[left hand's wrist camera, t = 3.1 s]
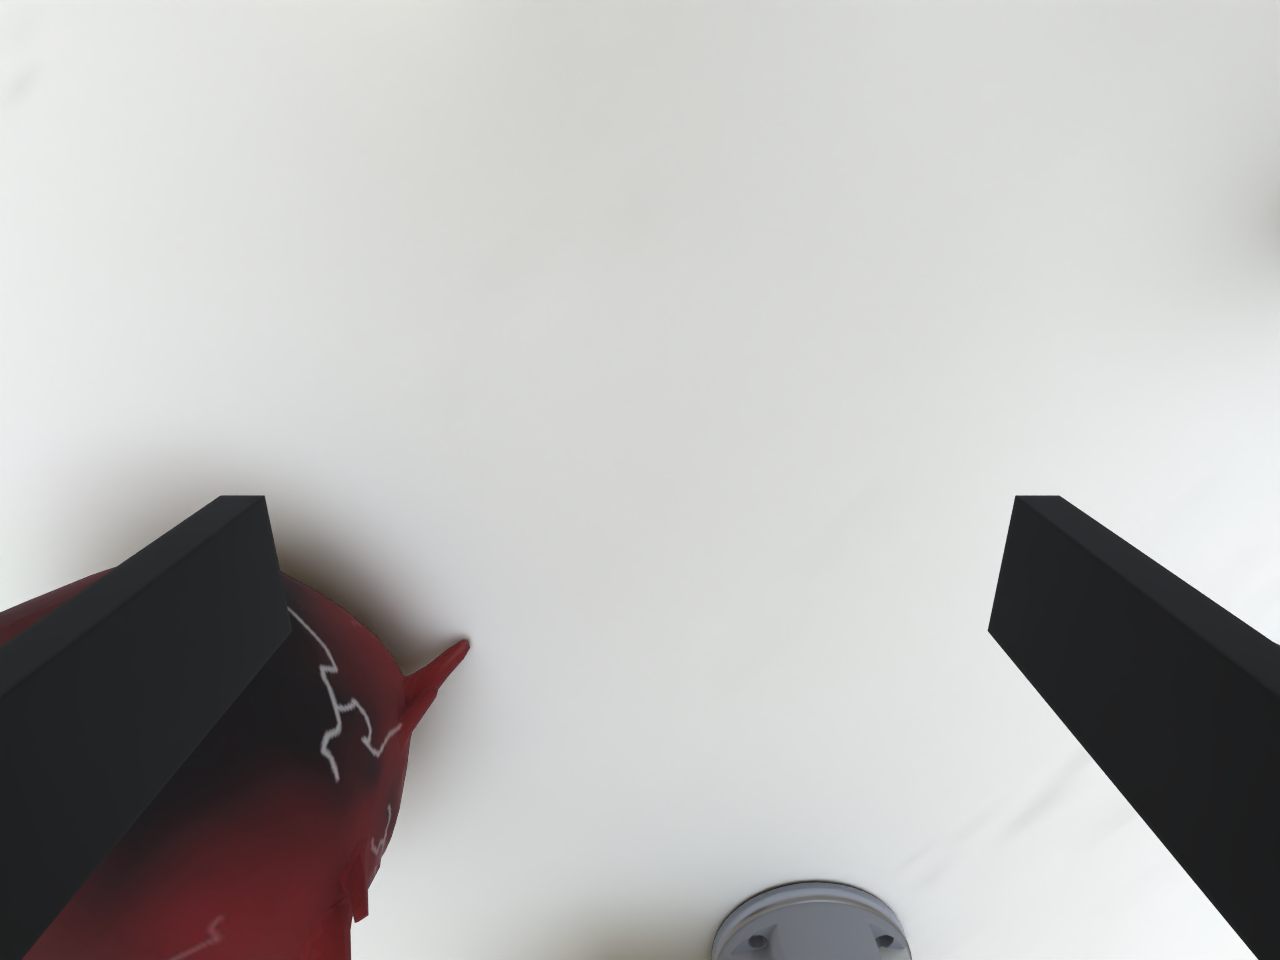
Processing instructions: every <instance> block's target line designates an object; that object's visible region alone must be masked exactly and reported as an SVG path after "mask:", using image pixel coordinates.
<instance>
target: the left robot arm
mask: <svg viewBox="0 0 1280 960" xmlns="http://www.w3.org/2000/svg"><path fill="white" fill-rule="evenodd" d="M291 632H292V627H291V622H290V617H289V613H288V608H287V603H286V598H285V593H284V588H283V583H282V578H281V574H280V569H279V564H278V559H277V554H276V549H275V544H274V539H273V535H272V530H271V525H270V520H269V515H268V510H267V505H266V500H265V496H219V497H218V498H216V499H215V500H214V501H212V502H211V503H209V504H208V505H206V506H205V507H203V508H202V509H200V510H199V511H197V512H196V513H195V514H193V515H192V516H190V517H189V518H187V519H186V520H184V521H183V522H181V523H180V524H178V525H177V526H176V527H174V528H173V529H171V530H170V531H168V532H167V533H165V534H164V535H162V536H161V537H160V538H158V539H157V540H155V541H154V542H152V543H151V544H149V545H148V546H146V547H145V548H143V549H142V550H141V551H139V552H138V553H136V554H135V555H133V556H132V557H130V558H129V559H127V560H126V561H124V562H123V563H122V564H120V565H119V566H117V567H116V568H114V569H113V570H111V571H110V572H108V573H107V574H106V575H104V576H103V577H101V578H100V579H98V580H97V581H95V582H94V583H92V584H91V585H89V586H88V587H87V588H85V589H84V590H82V591H81V592H79V593H78V594H76V595H75V596H73V597H72V598H70V599H69V600H68V601H66V602H65V603H63V604H62V605H60V606H59V607H57V608H56V609H54V610H53V611H51V612H50V613H49V614H47V615H46V616H44V617H43V618H41V619H40V620H38V621H37V622H35V623H34V624H33V625H31V626H30V627H28V628H27V629H25V630H24V631H22V632H21V633H19V634H18V635H16V636H15V637H14V638H12V639H11V640H9V641H8V642H6V643H5V644H3V645H2V646H0V960H22V959H23V957H24V956H25V955H26V954H27V953H28V951H29V950H30V949H31V948H32V946H33V945H34V944H35V943H36V942H37V940H38V939H39V938H40V937H41V936H42V934H43V933H44V932H45V931H46V929H47V928H48V927H49V926H50V925H51V923H52V922H53V921H54V920H55V919H56V917H57V916H58V915H59V914H60V912H61V911H62V910H63V909H64V908H65V906H66V905H67V904H68V903H69V901H70V900H71V899H72V898H73V897H74V895H75V894H76V893H77V892H78V891H79V889H80V888H81V887H82V886H83V884H84V883H85V882H86V881H87V880H88V878H89V877H90V876H91V875H92V874H93V872H94V871H95V870H96V869H97V867H98V866H99V865H100V864H101V863H102V861H103V860H104V859H105V858H106V857H107V855H108V854H109V853H110V852H111V850H112V849H113V848H114V847H115V846H116V844H117V843H118V842H119V841H120V840H121V838H122V837H123V836H124V835H125V833H126V832H127V831H128V830H129V829H130V827H131V826H132V825H133V824H134V823H135V821H136V820H137V819H138V818H139V816H140V815H141V814H142V813H143V812H144V810H145V809H146V808H147V807H148V806H149V804H150V803H151V802H152V801H153V799H154V798H155V797H156V796H157V795H158V793H159V792H160V791H161V790H162V788H163V787H164V786H165V785H166V784H167V782H168V781H169V780H170V779H171V778H172V776H173V775H174V774H175V773H176V771H177V770H178V769H179V768H180V767H181V765H182V764H183V763H184V762H185V761H186V759H187V758H188V757H189V756H190V754H191V753H192V752H193V751H194V750H195V748H196V747H197V746H198V745H199V744H200V742H201V741H202V740H203V739H204V737H205V736H206V735H207V734H208V733H209V731H210V730H211V729H212V728H213V727H214V725H215V724H216V723H217V722H218V720H219V719H220V718H221V717H222V716H223V714H224V713H225V712H226V711H227V710H228V708H229V707H230V706H231V705H232V703H233V702H234V701H235V700H236V699H237V697H238V696H239V695H240V694H241V693H242V691H243V690H244V689H245V688H246V686H247V685H248V684H249V683H250V682H251V680H252V679H253V678H254V677H255V676H256V674H257V673H258V672H259V671H260V669H261V668H262V667H263V666H264V665H265V663H266V662H267V661H268V660H269V658H270V657H271V656H272V655H273V654H274V652H275V651H276V650H277V649H278V648H279V646H280V645H281V644H282V643H283V641H284V640H285V639H286V638H287V637H288V635H289V634H290V633H291ZM988 632H989V633H990V634H991V635H992V637H993V638H994V639H995V640H996V641H997V643H998V644H999V645H1000V646H1001V648H1002V649H1003V650H1004V651H1005V652H1006V654H1007V655H1008V656H1009V657H1010V658H1011V660H1012V661H1013V662H1014V663H1015V665H1016V666H1017V667H1018V668H1019V669H1020V671H1021V672H1022V673H1023V674H1024V676H1025V677H1026V678H1027V679H1028V680H1029V682H1030V683H1031V684H1032V685H1033V686H1034V688H1035V689H1036V690H1037V691H1038V693H1039V694H1040V695H1041V696H1042V697H1043V699H1044V700H1045V701H1046V702H1047V703H1048V705H1049V706H1050V707H1051V708H1052V710H1053V711H1054V712H1055V713H1056V714H1057V716H1058V717H1059V718H1060V719H1061V720H1062V722H1063V723H1064V724H1065V725H1066V727H1067V728H1068V729H1069V730H1070V731H1071V733H1072V734H1073V735H1074V736H1075V737H1076V739H1077V740H1078V741H1079V742H1080V744H1081V745H1082V746H1083V747H1084V748H1085V750H1086V751H1087V752H1088V753H1089V754H1090V756H1091V757H1092V758H1093V759H1094V761H1095V762H1096V763H1097V764H1098V765H1099V767H1100V768H1101V769H1102V770H1103V771H1104V773H1105V774H1106V775H1107V776H1108V778H1109V779H1110V780H1111V781H1112V782H1113V784H1114V785H1115V786H1116V787H1117V789H1118V790H1119V791H1120V792H1121V793H1122V795H1123V796H1124V797H1125V798H1126V799H1127V801H1128V802H1129V803H1130V804H1131V806H1132V807H1133V808H1134V809H1135V810H1136V812H1137V813H1138V814H1139V815H1140V816H1141V818H1142V819H1143V820H1144V821H1145V823H1146V824H1147V825H1148V826H1149V827H1150V829H1151V830H1152V831H1153V832H1154V833H1155V835H1156V836H1157V837H1158V838H1159V840H1160V841H1161V842H1162V843H1163V844H1164V846H1165V847H1166V848H1167V849H1168V850H1169V852H1170V853H1171V854H1172V855H1173V857H1174V858H1175V859H1176V860H1177V861H1178V863H1179V864H1180V865H1181V866H1182V867H1183V869H1184V870H1185V871H1186V872H1187V874H1188V875H1189V876H1190V877H1191V878H1192V880H1193V881H1194V882H1195V883H1196V884H1197V886H1198V887H1199V888H1200V889H1201V891H1202V892H1203V893H1204V894H1205V895H1206V897H1207V898H1208V899H1209V900H1210V901H1211V903H1212V904H1213V905H1214V906H1215V908H1216V909H1217V910H1218V911H1219V912H1220V914H1221V915H1222V916H1223V917H1224V919H1225V920H1226V921H1227V922H1228V923H1229V925H1230V926H1231V927H1232V928H1233V929H1234V931H1235V932H1236V933H1237V934H1238V936H1239V937H1240V938H1241V939H1242V940H1243V942H1244V943H1245V944H1246V945H1247V946H1248V948H1249V949H1250V950H1251V951H1252V953H1253V954H1254V955H1255V956H1256V957H1257V959H1258V960H1280V645H1278V644H1276V643H1274V642H1272V641H1271V640H1269V639H1268V638H1266V637H1265V636H1264V635H1262V634H1261V633H1259V632H1258V631H1256V630H1255V629H1253V628H1252V627H1250V626H1249V625H1247V624H1246V623H1245V622H1243V621H1242V620H1240V619H1239V618H1237V617H1236V616H1234V615H1233V614H1231V613H1230V612H1229V611H1227V610H1226V609H1224V608H1223V607H1221V606H1220V605H1218V604H1217V603H1215V602H1214V601H1212V600H1211V599H1210V598H1208V597H1207V596H1205V595H1204V594H1202V593H1201V592H1199V591H1198V590H1196V589H1195V588H1193V587H1192V586H1191V585H1189V584H1188V583H1186V582H1185V581H1183V580H1182V579H1180V578H1179V577H1177V576H1176V575H1174V574H1173V573H1172V572H1170V571H1169V570H1167V569H1166V568H1164V567H1163V566H1161V565H1160V564H1158V563H1157V562H1156V561H1154V560H1153V559H1151V558H1150V557H1148V556H1147V555H1145V554H1144V553H1142V552H1141V551H1139V550H1138V549H1137V548H1135V547H1134V546H1132V545H1131V544H1129V543H1128V542H1126V541H1125V540H1123V539H1122V538H1120V537H1119V536H1118V535H1116V534H1115V533H1113V532H1112V531H1110V530H1109V529H1107V528H1106V527H1104V526H1103V525H1102V524H1100V523H1099V522H1097V521H1096V520H1094V519H1093V518H1091V517H1090V516H1088V515H1087V514H1085V513H1084V512H1083V511H1081V510H1080V509H1078V508H1077V507H1075V506H1074V505H1072V504H1071V503H1069V502H1068V501H1066V500H1065V499H1064V498H1062V497H1061V496H1015V500H1014V505H1013V510H1012V515H1011V520H1010V525H1009V530H1008V535H1007V539H1006V544H1005V549H1004V554H1003V559H1002V564H1001V569H1000V574H999V578H998V583H997V588H996V593H995V598H994V603H993V608H992V613H991V617H990V622H989V627H988ZM712 960H912V957H911V952H910V949H909V945H908V943H907V940H906V937H905V935H904V932H903V929H902V926H901V924H900V922H899V920H898V919H897V917H896V916H895V914H894V913H893V912H892V911H891V910H890V908H888V907H887V906H886V905H885V904H884V903H883V902H881V901H880V900H879V899H877V898H875V897H874V896H872V895H870V894H868V893H866V892H864V891H861V890H858V889H856V888H852V887H849V886H845V885H839V884H833V883H818V882H815V883H800V884H793V885H788V886H783V887H780V888H776V889H773V890H770V891H767V892H765V893H762V894H760V895H758V896H756V897H754V898H752V899H750V900H749V901H747V902H746V903H744V904H743V905H741V906H740V907H739V908H737V909H736V910H735V911H734V912H733V913H732V914H731V915H730V916H729V917H728V918H727V919H726V920H725V921H724V923H723V924H722V926H721V927H720V929H719V931H718V932H717V935H716V937H715V939H714V943H713V948H712Z"/></svg>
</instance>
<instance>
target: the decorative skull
mask: <svg viewBox="0 0 1280 960" xmlns="http://www.w3.org/2000/svg"><path fill="white" fill-rule="evenodd" d="M115 568H116V567H115ZM113 569H114V568H111V569H108V570H105V571H102V572H99V573H96V574H93V575H91V576H88V577H86V578H83V579H81V580H78V581H76V582H73V583H71V584H68V585H66V586H63V587H61V588H58V589H56V590H54V591H51V592H49V593H46V594H44V595H41V596H39V597H36V598H34V599H31V600H29V601H26V602H24V603H22V604H19V605H17V606H14V607H12V608H10V609H7V610H5V611H3V612H0V646H2V645H3V644H5V643H6V642H8V641H9V640H11V639H12V638H14V637H15V636H16V635H18V634H19V633H21V632H22V631H24V630H25V629H27V628H28V627H30V626H31V625H33V624H34V623H35V622H37V621H38V620H40V619H41V618H43V617H44V616H46V615H47V614H49V613H50V612H51V611H53V610H54V609H56V608H57V607H59V606H60V605H62V604H63V603H65V602H66V601H68V600H69V599H70V598H72V597H73V596H75V595H76V594H78V593H79V592H81V591H82V590H84V589H85V588H87V587H88V586H89V585H91V584H92V583H94V582H95V581H97V580H98V579H100V578H101V577H103V576H104V575H106V574H107V573H108V572H110V571H111V570H113ZM280 574H281V578H282V583H283V588H284V593H285V598H286V603H287V608H288V613H289V617H290V622H291V627H292V632H291V633H290V634H289V635H288V637H287V638H286V639H285V640H284V641H283V643H282V644H281V645H280V646H279V648H278V649H277V650H276V651H275V652H274V654H273V655H272V656H271V657H270V658H269V660H268V661H267V662H266V663H265V665H264V666H263V667H262V668H261V669H260V671H259V672H258V673H257V674H256V676H255V677H254V678H253V679H252V680H251V682H250V683H249V684H248V685H247V686H246V688H245V689H244V690H243V691H242V693H241V694H240V695H239V696H238V697H237V699H236V700H235V701H234V702H233V703H232V705H231V706H230V707H229V708H228V710H227V711H226V712H225V713H224V714H223V716H222V717H221V718H220V719H219V720H218V722H217V723H216V724H215V725H214V727H213V728H212V729H211V730H210V731H209V733H208V734H207V735H206V736H205V737H204V739H203V740H202V741H201V742H200V744H199V745H198V746H197V747H196V748H195V750H194V751H193V752H192V753H191V754H190V756H189V757H188V758H187V759H186V761H185V762H184V763H183V764H182V765H181V767H180V768H179V769H178V770H177V771H176V773H175V774H174V775H173V776H172V778H171V779H170V780H169V781H168V782H167V784H166V785H165V786H164V787H163V788H162V790H161V791H160V792H159V793H158V795H157V796H156V797H155V798H154V799H153V801H152V802H151V803H150V804H149V806H148V807H147V808H146V809H145V810H144V812H143V813H142V814H141V815H140V816H139V818H138V819H137V820H136V821H135V823H134V824H133V825H132V826H131V827H130V829H129V830H128V831H127V832H126V833H125V835H124V836H123V837H122V838H121V840H120V841H119V842H118V843H117V844H116V846H115V847H114V848H113V849H112V850H111V852H110V853H109V854H108V855H107V857H106V858H105V859H104V860H103V861H102V863H101V864H100V865H99V866H98V867H97V869H96V870H95V871H94V872H93V874H92V875H91V876H90V877H89V878H88V880H87V881H86V882H85V883H84V884H83V886H82V887H81V888H80V889H79V891H78V892H77V893H76V894H75V895H74V897H73V898H72V899H71V900H70V901H69V903H68V904H67V905H66V906H65V908H64V909H63V910H62V911H61V912H60V914H59V915H58V916H57V917H56V919H55V920H54V921H53V922H52V923H51V925H50V926H49V927H48V928H47V929H46V931H45V932H44V933H43V934H42V936H41V937H40V938H39V939H38V940H37V942H36V943H35V944H34V945H33V946H32V948H31V949H30V950H29V951H28V953H27V954H26V955H25V956H24V957H23V959H22V960H351V937H350V929H351V922H352V917H354V921H355V923H356V922H359V921H360V920H362V919H363V918H365V917H366V916H368V888H369V886H370V885H371V883H372V881H373V879H374V877H375V875H376V873H377V871H378V869H379V868H380V862H381V857H382V855H383V854H384V852H385V850H386V848H387V846H388V844H389V842H390V839H391V837H392V833H393V830H394V827H395V824H396V820H397V816H398V812H399V809H400V803H401V797H402V791H403V786H404V780H405V775H406V770H407V762H408V754H409V745H410V739H411V735H412V731H413V730H414V728H415V727H416V725H417V724H418V722H419V721H420V720H421V718H422V717H423V715H424V714H425V712H426V711H427V709H428V708H429V706H430V705H431V703H432V702H433V701H434V699H435V698H436V695H437V691H438V689H439V687H440V686H441V685H442V683H443V682H444V681H445V680H446V678H447V677H448V676H449V675H450V673H451V672H452V671H453V670H454V669H455V668H456V667H457V666H458V664H459V663H460V662H461V661H462V660H463V659H464V657H465V655H466V654H467V652H468V650H469V648H470V645H469V642H468V641H466V640H462V641H460V642H459V643H457V644H455V645H454V646H452V647H451V648H449V649H447V650H446V651H445V652H444V653H442V654H441V655H440V656H438V657H437V658H436V659H435V660H433V661H432V662H431V663H429V664H428V665H427V666H425V667H424V668H422V669H420V670H419V671H417V672H416V673H414V674H412V675H410V676H407V677H405V676H404V675H403V674H402V673H401V671H400V669H399V667H398V666H397V664H396V662H395V660H394V659H393V657H392V655H391V654H390V652H389V651H388V650H387V649H386V647H385V646H384V645H383V643H382V642H381V641H380V640H379V639H378V638H377V637H376V636H375V635H374V634H373V633H372V632H371V631H370V630H368V629H367V628H366V627H365V626H364V625H362V624H361V623H360V622H359V621H358V620H356V619H355V618H354V617H353V616H351V615H350V614H349V613H348V612H347V611H345V610H344V609H343V608H342V607H340V606H339V605H337V604H336V603H334V602H333V601H331V600H330V599H328V598H327V597H325V596H324V595H322V594H320V593H319V592H317V591H315V590H313V589H312V588H310V587H308V586H306V585H304V584H302V583H301V582H299V581H297V580H295V579H293V578H291V577H290V576H288V575H286V574H284V573H282V572H280Z"/></svg>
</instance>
